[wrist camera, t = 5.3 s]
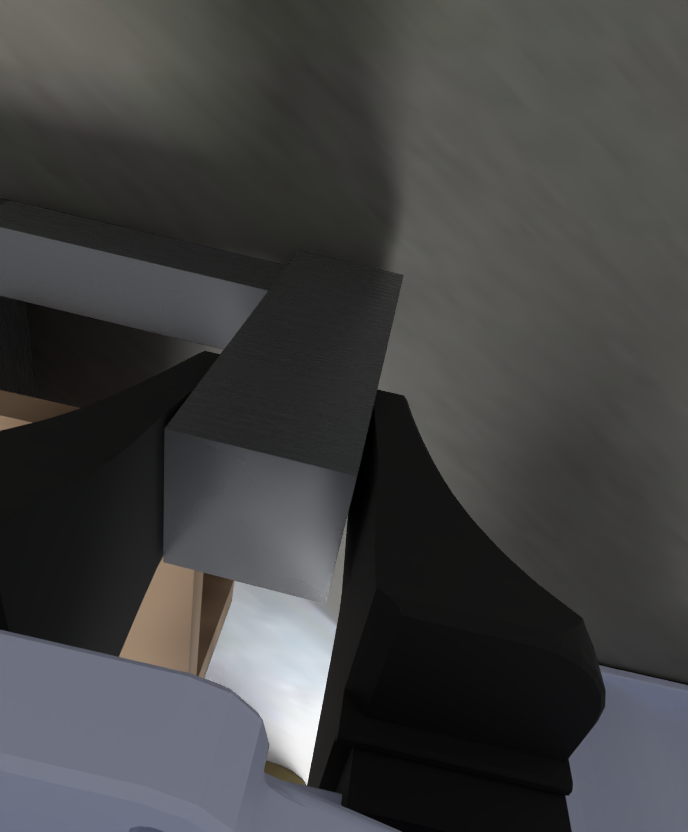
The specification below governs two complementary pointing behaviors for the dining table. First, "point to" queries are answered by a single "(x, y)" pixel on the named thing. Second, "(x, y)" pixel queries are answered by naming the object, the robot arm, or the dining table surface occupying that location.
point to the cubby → (154, 584)
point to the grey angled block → (225, 381)
